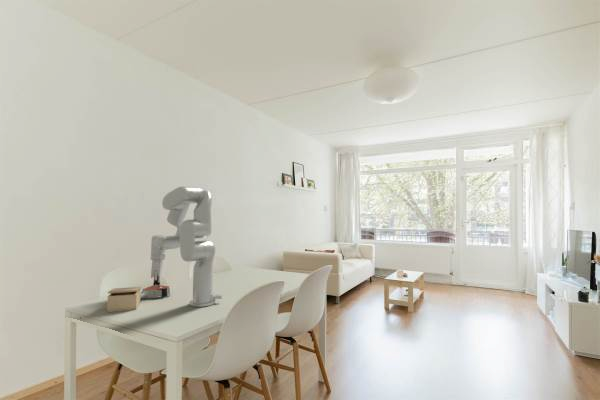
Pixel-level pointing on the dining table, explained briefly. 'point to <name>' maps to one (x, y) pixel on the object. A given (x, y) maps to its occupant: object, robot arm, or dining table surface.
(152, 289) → the tape dispenser
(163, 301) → the dining table surface
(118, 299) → the box
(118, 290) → the lid
